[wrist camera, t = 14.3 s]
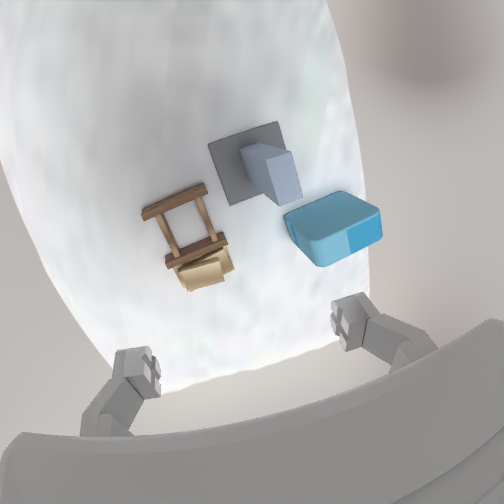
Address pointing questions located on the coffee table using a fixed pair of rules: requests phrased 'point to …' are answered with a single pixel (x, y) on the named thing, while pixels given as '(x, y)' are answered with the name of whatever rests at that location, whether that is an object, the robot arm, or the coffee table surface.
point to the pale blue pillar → (272, 172)
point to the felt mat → (232, 163)
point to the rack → (177, 255)
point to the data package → (334, 227)
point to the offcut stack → (204, 269)
